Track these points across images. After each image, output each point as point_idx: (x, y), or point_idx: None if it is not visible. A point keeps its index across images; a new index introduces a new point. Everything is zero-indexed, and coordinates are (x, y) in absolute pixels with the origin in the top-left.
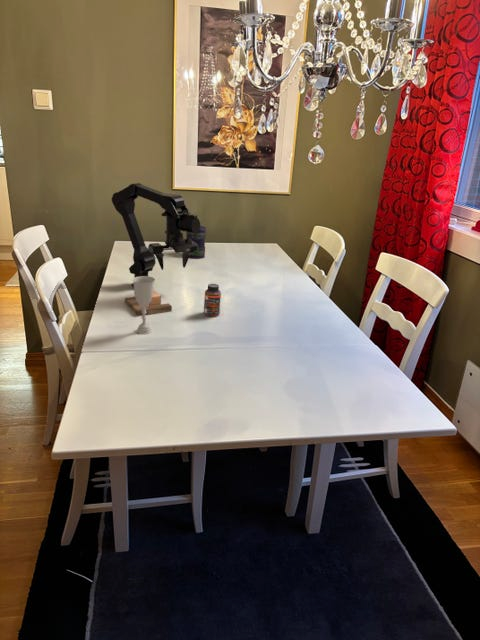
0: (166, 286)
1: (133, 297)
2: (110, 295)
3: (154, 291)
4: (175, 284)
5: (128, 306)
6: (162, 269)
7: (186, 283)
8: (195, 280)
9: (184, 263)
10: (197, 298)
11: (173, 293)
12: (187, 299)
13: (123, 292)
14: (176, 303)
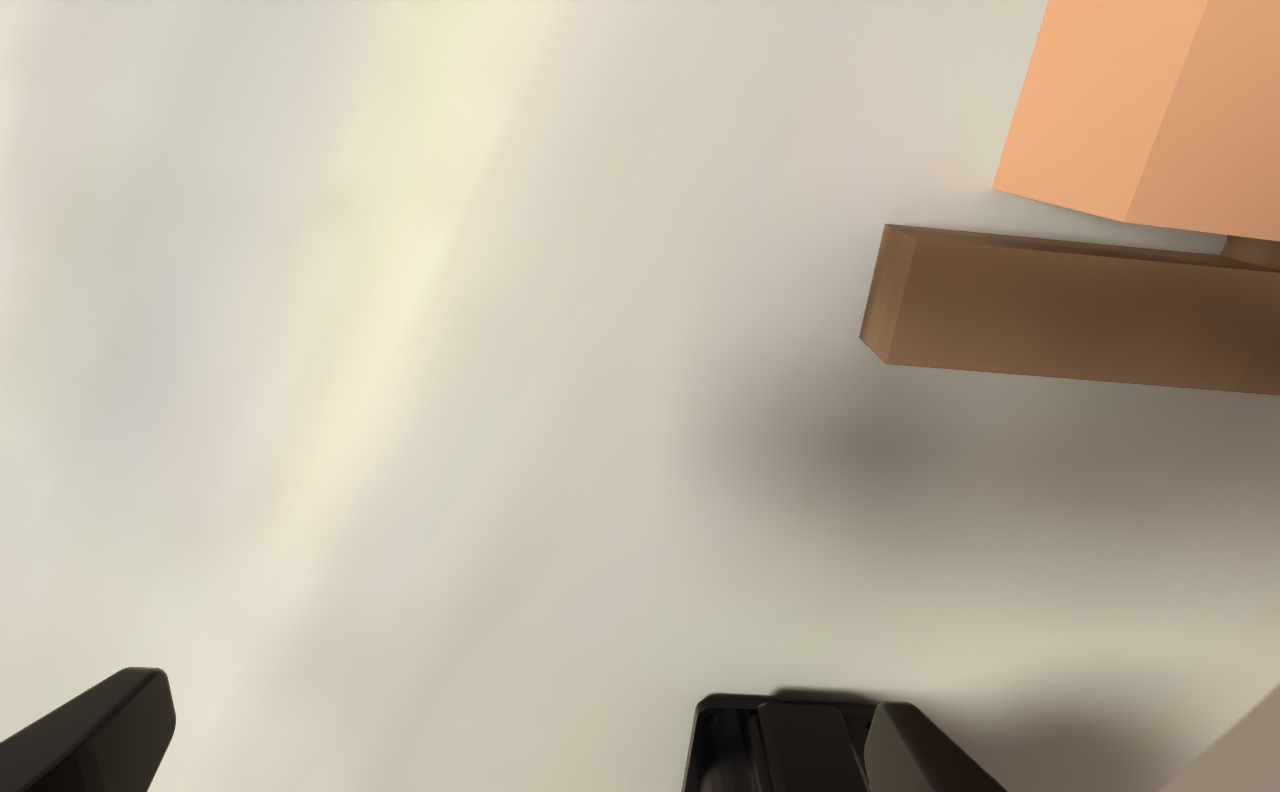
0: (504, 675)
1: (1275, 372)
2: (1240, 651)
3: (1153, 202)
4: (362, 694)
5: None
6: (913, 707)
7: (203, 679)
8: None
9: (43, 788)
10: (261, 63)
11: (538, 431)
12: (450, 101)
13: (1063, 678)
14: (714, 8)
